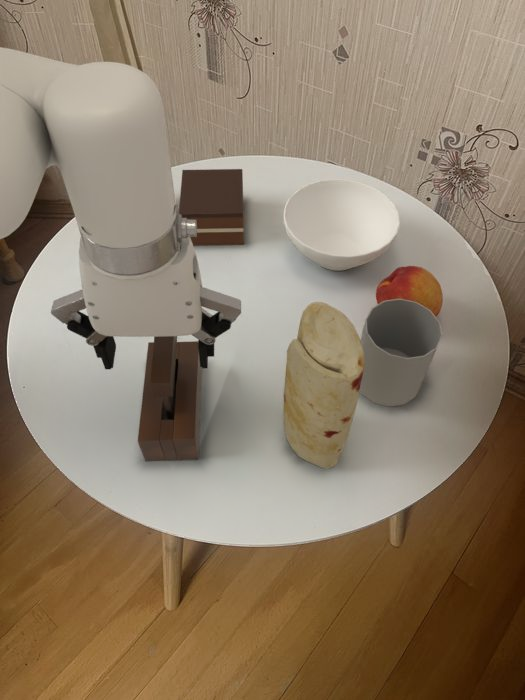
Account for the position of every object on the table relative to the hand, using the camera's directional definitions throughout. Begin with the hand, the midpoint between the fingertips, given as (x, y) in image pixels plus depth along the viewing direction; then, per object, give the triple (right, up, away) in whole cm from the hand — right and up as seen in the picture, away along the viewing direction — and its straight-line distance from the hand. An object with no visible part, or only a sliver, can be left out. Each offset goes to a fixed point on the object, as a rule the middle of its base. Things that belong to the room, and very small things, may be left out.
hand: (158, 357), depth 59 cm
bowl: (+22, +15, +25) cm, 36 cm away
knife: (+1, -6, +9) cm, 11 cm away
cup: (+26, -3, +12) cm, 29 cm away
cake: (+3, +20, +28) cm, 35 cm away
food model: (+17, -9, +7) cm, 20 cm away
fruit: (+30, +5, +18) cm, 35 cm away
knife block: (0, -6, +9) cm, 11 cm away
